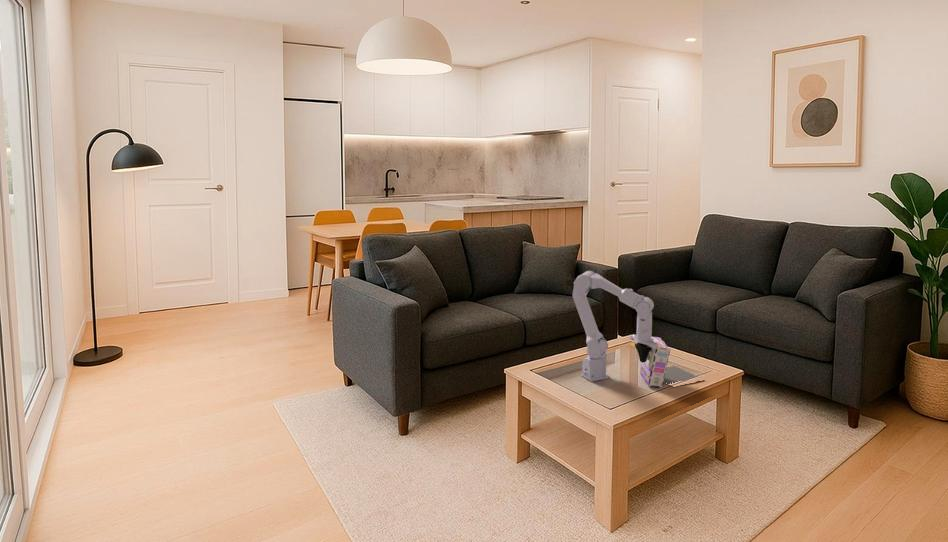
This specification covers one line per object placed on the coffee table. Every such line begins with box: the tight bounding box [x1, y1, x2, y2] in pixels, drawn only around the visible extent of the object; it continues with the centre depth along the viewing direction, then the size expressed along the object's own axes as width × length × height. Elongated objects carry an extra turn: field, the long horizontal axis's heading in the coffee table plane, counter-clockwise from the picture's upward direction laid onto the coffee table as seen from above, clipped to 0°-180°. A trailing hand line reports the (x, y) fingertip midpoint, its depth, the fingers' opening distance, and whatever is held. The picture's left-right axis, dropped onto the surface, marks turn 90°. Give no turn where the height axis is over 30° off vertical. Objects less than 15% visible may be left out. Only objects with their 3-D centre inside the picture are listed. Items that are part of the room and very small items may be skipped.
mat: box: [663, 365, 699, 385], centre depth 248 cm, size 16×18×1 cm
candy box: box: [639, 336, 671, 388], centre depth 241 cm, size 14×6×16 cm, turn 179°
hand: (643, 361), depth 240 cm, fingers closed
